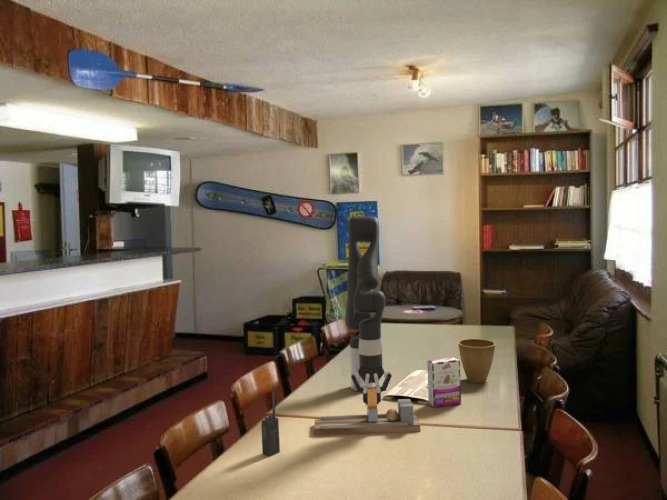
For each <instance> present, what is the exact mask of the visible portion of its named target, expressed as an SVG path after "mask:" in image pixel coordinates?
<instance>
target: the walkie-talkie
mask: <svg viewBox="0 0 667 500" xmlns="http://www.w3.org/2000/svg"><path fill="white" fill-rule="evenodd" d="M271 395H272V397H271V398H272V400H271V401H272V403H271V405H272V408H271V409H272V414H268V415H267V416H265V417H264V419H263V420H261V424H260V426H261V443H262V444H261V446H262V454H263V455H264V456H267V457H272V456H274V455H277V454H279V453H280V452H281V451H280V450H281V449H280V448H281V447H280V428H279V427H280V426H279V417H277V414H276V400H275V398H276V397H275V385H272V386H271Z"/></svg>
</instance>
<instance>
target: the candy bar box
mask: <svg viewBox="0 0 667 500" xmlns="http://www.w3.org/2000/svg"><path fill="white" fill-rule="evenodd" d="M426 365H427V368H426V369H427V370H428V397H429V403H428V405H430V406H431V407H433V408H440V407H449V406H454V405H455V406H456V405H460V404H462V394H461V393H462V391H461V390H462V389H461V386H462V385H461V359H459V358H456V357H446V358H445V357H444V358H436V359H429V360H427V361H426Z"/></svg>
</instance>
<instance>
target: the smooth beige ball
mask: <svg viewBox="0 0 667 500" xmlns="http://www.w3.org/2000/svg"><path fill="white" fill-rule="evenodd" d="M385 414H386V418H387V419H388V420H389V421H395V420H397V418H398V410H397V409H395V408H389V409H387V411H386V412H385Z"/></svg>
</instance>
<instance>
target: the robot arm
mask: <svg viewBox="0 0 667 500" xmlns="http://www.w3.org/2000/svg"><path fill="white" fill-rule="evenodd" d="M347 238H348V239H347V241H348V264H347V274H346V275H347V278H346V280H347V286H346V288H347V295H346V296H347V298H346V307H345V316H344V317H345V319H344V320H345V327H346V328H347V329H348V330H350V331H358V333H359V334H358V335H357V336H353V337H352V338H351V339H349V357H350V358H349V359H350V361H349V362H350V363H349V364H350V365H349V366H350V389H351V390H352V391H354V392H358V393H362V401H363V404H364V405H365V406H367V405H368V397H367V387H375V386H376V389H377V405H379V404H380V403H381V401H382V396H381V395H382V394H381V393H382V392H385V391H387V388H388V386H389V384H390V381H391V379H392V373H391V372H390V371H388V372H387V371H385V369H384V368H383V367H384V366H383V343H382V330H381V329H382V328H381V327H382V326H381V325H382V318H383V314H384V310H385V307H386V301H387V300H386V296H385V294H384V292H383V291H381V290H375V289H377V288H378V286H379V281H380V280H379V270H378V260H379V259H378V258H379V251H380V250H379V248H380V247H379V246H380V223H379V220H378V218H377V217H376V216H369V215H368V216H367V215H366V216H361V215H360V216H357V215H356V216H351V217H350V218H349V220H348V224H347ZM358 243H369V246H368V248H367V249H366V251H364V253H362V250H361V249H360V247H359V244H358ZM373 313H374V314H373ZM382 376H383V377H382ZM381 378H383V379H384V380H383V383H382V385H381V386H380V382H379V381H380V380H381Z"/></svg>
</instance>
